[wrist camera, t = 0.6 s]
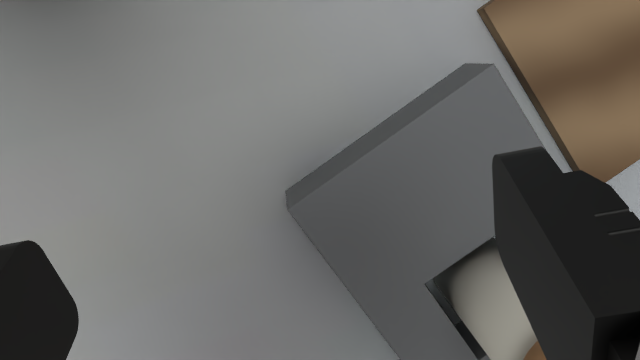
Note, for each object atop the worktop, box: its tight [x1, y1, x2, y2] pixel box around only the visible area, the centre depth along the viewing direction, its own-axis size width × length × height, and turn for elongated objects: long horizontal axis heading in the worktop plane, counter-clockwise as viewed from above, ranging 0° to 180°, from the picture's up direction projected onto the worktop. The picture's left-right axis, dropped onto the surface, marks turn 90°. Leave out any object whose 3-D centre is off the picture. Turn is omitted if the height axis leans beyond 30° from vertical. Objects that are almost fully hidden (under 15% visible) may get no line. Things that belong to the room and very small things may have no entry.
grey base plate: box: [286, 64, 546, 360], centre depth 31 cm, size 20×12×4 cm, turn 35°
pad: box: [477, 0, 640, 183], centre depth 30 cm, size 12×10×1 cm
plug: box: [433, 237, 546, 360], centre depth 26 cm, size 5×5×14 cm
